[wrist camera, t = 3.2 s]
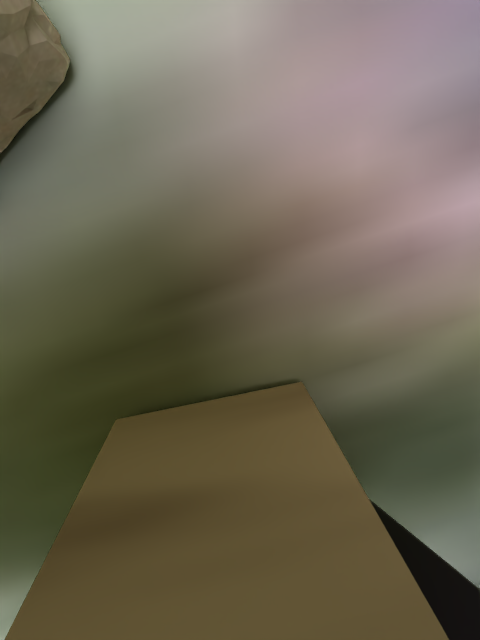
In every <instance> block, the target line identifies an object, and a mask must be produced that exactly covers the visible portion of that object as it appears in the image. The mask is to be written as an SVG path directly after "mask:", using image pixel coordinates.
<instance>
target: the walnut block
mask: <svg viewBox="0 0 480 640" xmlns="http://www.w3.org/2000/svg"><path fill="white" fill-rule="evenodd" d="M5 640H449V639H448V637H447V635H446V633H445V632H444V630H443V628H442V626H441V625H440V623H439V621H438V619H437V618H436V616H435V614H434V612H433V611H432V609H431V607H430V605H429V604H428V602H427V600H426V598H425V597H424V595H423V593H422V591H421V590H420V588H419V586H418V584H417V583H416V581H415V579H414V577H413V576H412V574H411V572H410V570H409V569H408V567H407V565H406V563H405V562H404V560H403V558H402V556H401V555H400V553H399V551H398V549H397V548H396V546H395V544H394V542H393V540H392V539H391V537H390V535H389V533H388V532H387V530H386V528H385V526H384V525H383V523H382V521H381V519H380V518H379V516H378V514H377V512H376V511H375V509H374V507H373V505H372V504H371V502H370V500H369V498H368V497H367V495H366V493H365V491H364V490H363V488H362V486H361V484H360V483H359V481H358V479H357V477H356V476H355V474H354V472H353V470H352V469H351V467H350V465H349V463H348V462H347V460H346V458H345V456H344V455H343V453H342V451H341V449H340V448H339V446H338V444H337V442H336V441H335V439H334V437H333V435H332V433H331V432H330V430H329V428H328V426H327V425H326V423H325V421H324V419H323V418H322V416H321V414H320V412H319V411H318V409H317V407H316V405H315V404H314V402H313V400H312V398H311V397H310V395H309V393H308V391H307V390H306V388H305V386H304V384H303V383H302V382H298V383H293V384H288V385H283V386H278V387H273V388H268V389H263V390H258V391H254V392H249V393H244V394H239V395H234V396H229V397H224V398H219V399H214V400H209V401H204V402H199V403H194V404H190V405H185V406H180V407H175V408H170V409H165V410H160V411H155V412H150V413H145V414H140V415H135V416H130V417H126V418H121V419H116V420H115V422H114V424H113V426H112V428H111V430H110V432H109V434H108V436H107V438H106V440H105V442H104V444H103V446H102V448H101V450H100V452H99V454H98V456H97V458H96V460H95V462H94V464H93V466H92V468H91V470H90V472H89V474H88V476H87V478H86V480H85V482H84V484H83V486H82V488H81V490H80V492H79V494H78V496H77V497H76V499H75V501H74V503H73V505H72V507H71V509H70V511H69V513H68V515H67V517H66V519H65V521H64V523H63V525H62V527H61V529H60V531H59V533H58V535H57V537H56V539H55V541H54V543H53V545H52V547H51V549H50V551H49V553H48V555H47V557H46V559H45V561H44V563H43V565H42V567H41V569H40V571H39V573H38V575H37V577H36V578H35V580H34V582H33V584H32V586H31V588H30V590H29V592H28V594H27V596H26V598H25V600H24V602H23V604H22V606H21V608H20V610H19V612H18V614H17V616H16V618H15V620H14V622H13V624H12V626H11V628H10V630H9V632H8V634H7V636H6V638H5Z"/></svg>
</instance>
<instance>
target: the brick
mask: <svg viewBox="0 0 480 640" xmlns="http://www.w3.org/2000/svg"><path fill="white" fill-rule="evenodd" d="M69 63H70V59H69V57H68V55H67V53H66V51H65V50H64V48H63V46H62V44H61V39H60V34H59V33H58V31H57V30H56V28H55V27H54V26H53V24H52V23H51V21H50V20H49V18H48V17H47V15H46V14H45V13H44V11H43V10H42V8H41V7H40V5H39V4H38V3H37V2H36V1H35V0H0V153H1V152H2V151H3V150H4V149H5V148H6V147H7V146H8V145H9V143H10V142H11V141H12V139H13V138H14V137H15V135H16V134H17V133H18V131H19V130H20V129H21V128H22V127H23V126H24V125H25V123H26V122H27V121H28V120H29V119H30V118H32V117H33V116H34V115H36V114H37V113H38V112H39V111H40V110H41V109H42V108H43V106H44V105H45V104H46V103H47V101H48V100H49V99H50V98H51V96H52V95H53V94H54V93H55V91H56V90H57V89H58V88H59V86H60V85H61V84H62V83H63V81H64V79H65V76H66V72H67V69H68V67H69Z"/></svg>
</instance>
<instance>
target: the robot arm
mask: <svg viewBox="0 0 480 640" xmlns="http://www.w3.org/2000/svg"><path fill="white" fill-rule="evenodd" d="M369 500H370V499H369ZM370 502H371V504H372V505H373V507H374V509H375V511H376V512H377V514H378V516H379V518H380V519H381V521H382V523H383V525H384V526H385V528H386V530H387V532H388V533H389V535H390V537H391V539H392V540H393V542H394V544H395V546H396V548H397V549H398V551H399V553H400V555H401V556H402V558H403V560H404V562H405V563H406V565H407V567H408V569H409V570H410V572H411V574H412V576H413V577H414V579H415V581H416V583H417V584H418V586H419V588H420V590H421V591H422V593H423V595H424V597H425V598H426V600H427V602H428V604H429V605H430V607H431V609H432V611H433V612H434V614H435V616H436V618H437V619H438V621H439V623H440V625H441V626H442V628H443V630H444V632H445V633H446V635H447V637H448V639H449V640H480V589H479V588H478V587H477V586H475V585H474V584H473V583H472V582H470V581H469V580H468V579H467V578H465V577H464V576H463V575H462V574H461V573H459V572H458V571H457V570H456V569H454V568H453V567H452V566H451V565H450V564H448V563H447V562H446V561H445V560H443V559H442V558H441V557H440V556H438V555H437V554H436V553H435V552H434V551H432V550H431V549H430V548H429V547H427V546H426V545H425V544H424V543H423V542H421V541H420V540H419V539H418V538H416V537H415V536H414V535H413V534H411V533H410V532H409V531H408V530H407V529H405V528H404V527H403V526H402V525H400V524H399V523H398V522H397V521H396V520H394V519H393V518H392V517H391V516H389V515H388V514H387V513H386V512H384V511H383V510H382V509H381V508H380V507H378V506H377V505H376V504H375V503H373V502H372V501H371V500H370Z"/></svg>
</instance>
